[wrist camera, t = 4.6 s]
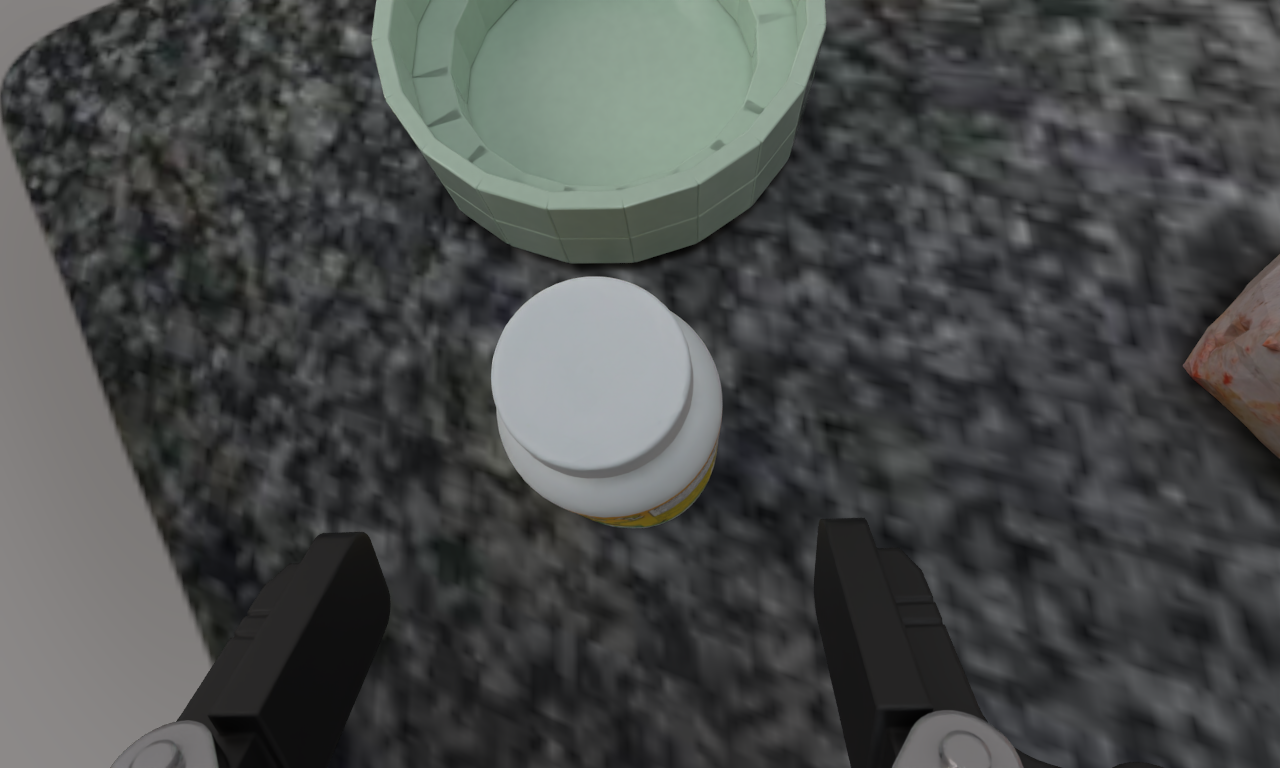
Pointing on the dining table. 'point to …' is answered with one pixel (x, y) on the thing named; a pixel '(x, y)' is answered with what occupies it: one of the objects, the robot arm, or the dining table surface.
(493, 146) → the dish
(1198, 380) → the food item
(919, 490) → the dining table surface
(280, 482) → the dining table surface
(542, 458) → the supplement bottle
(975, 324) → the dining table surface
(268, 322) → the dining table surface
